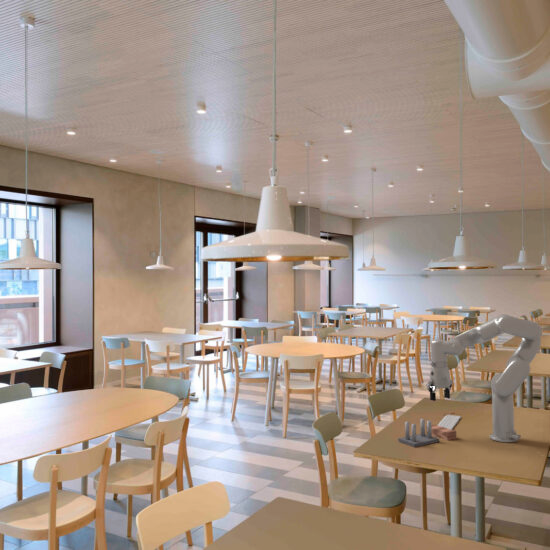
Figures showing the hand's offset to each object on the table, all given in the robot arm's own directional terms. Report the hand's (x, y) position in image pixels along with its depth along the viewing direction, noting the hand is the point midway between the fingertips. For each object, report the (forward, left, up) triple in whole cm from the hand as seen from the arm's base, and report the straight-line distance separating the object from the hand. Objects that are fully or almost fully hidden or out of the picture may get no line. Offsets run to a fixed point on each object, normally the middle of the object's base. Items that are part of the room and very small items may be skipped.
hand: (440, 399), depth 272 cm
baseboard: (+16, -21, -19) cm, 32 cm away
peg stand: (-1, +16, -18) cm, 24 cm away
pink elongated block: (0, 0, -19) cm, 19 cm away
